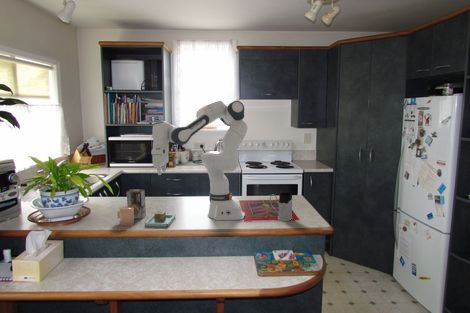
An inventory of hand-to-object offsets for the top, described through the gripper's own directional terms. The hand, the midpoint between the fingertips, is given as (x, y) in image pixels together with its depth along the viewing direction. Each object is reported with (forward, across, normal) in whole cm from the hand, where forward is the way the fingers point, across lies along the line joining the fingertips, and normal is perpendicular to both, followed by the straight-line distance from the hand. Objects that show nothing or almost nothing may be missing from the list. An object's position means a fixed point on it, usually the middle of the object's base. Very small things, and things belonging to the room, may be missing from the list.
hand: (162, 172), depth 191 cm
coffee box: (+27, 0, -16) cm, 32 cm away
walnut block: (+26, +8, 0) cm, 28 cm away
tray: (+27, +8, 0) cm, 28 cm away
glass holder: (+28, -4, +70) cm, 75 cm away
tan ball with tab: (+27, +12, -18) cm, 34 cm away
